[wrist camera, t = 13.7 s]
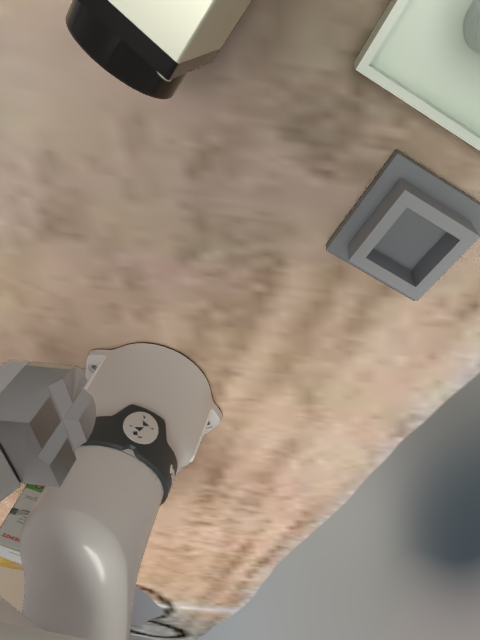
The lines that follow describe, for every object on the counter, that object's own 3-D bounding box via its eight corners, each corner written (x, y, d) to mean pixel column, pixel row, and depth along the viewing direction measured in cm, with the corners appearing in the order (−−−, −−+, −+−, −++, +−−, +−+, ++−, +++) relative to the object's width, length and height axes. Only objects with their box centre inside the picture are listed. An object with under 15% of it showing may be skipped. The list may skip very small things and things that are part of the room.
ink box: (30, 487, 78) (-13, 554, 68) (33, 472, 75) (-12, 540, 65) (77, 505, 78) (41, 574, 69) (81, 491, 76) (44, 561, 66)
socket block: (412, 294, 43) (419, 319, 40) (326, 244, 42) (325, 265, 39) (493, 211, 38) (508, 231, 34) (396, 149, 36) (402, 164, 33)
